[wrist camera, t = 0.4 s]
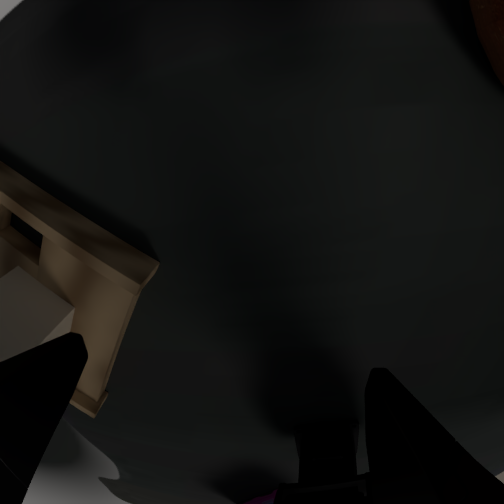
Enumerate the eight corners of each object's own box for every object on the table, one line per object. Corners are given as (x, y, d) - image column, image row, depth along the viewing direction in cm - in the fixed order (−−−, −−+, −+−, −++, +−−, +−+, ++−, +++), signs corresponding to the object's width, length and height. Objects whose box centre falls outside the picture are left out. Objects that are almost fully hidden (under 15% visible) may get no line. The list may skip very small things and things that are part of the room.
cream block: (74, 307, 24) (3, 384, 15) (67, 349, 26) (10, 420, 17) (18, 265, 23) (-58, 323, 14) (15, 310, 26) (-46, 368, 17)
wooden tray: (159, 262, 23) (140, 285, 20) (106, 396, 31) (94, 418, 28) (-25, 142, 21) (-50, 149, 18) (-32, 289, 29) (-49, 302, 26)
